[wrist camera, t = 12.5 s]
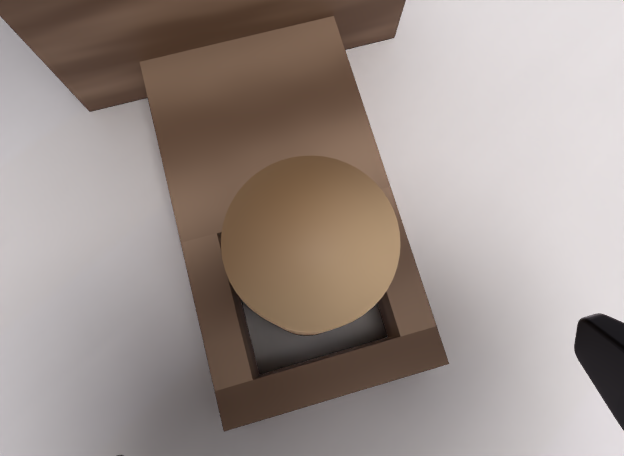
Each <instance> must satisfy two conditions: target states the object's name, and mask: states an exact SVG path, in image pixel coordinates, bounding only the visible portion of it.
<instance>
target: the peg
mask: <svg viewBox="0 0 624 456" xmlns="http://www.w3.org/2000/svg"><path fill="white" fill-rule="evenodd" d="M221 252H222V260H223V264H224V268H225V271H226V274H227V276H228V278H229V281H230V283H231V285H232V286H233V288H234V290H235V292H236V293H237V294H238V295H239V297H240V298H241V299H242V301H243V302H244V303H245V304H246V305H247V306H248V307H249V308H250V309H251V310H253V311H254V312H255V313H257V314H258V315H259V316H261V317H262V318H264V319H266V320H268V321H269V322H271V323H273V324H275V325H277V326H278V327H280V328H282V329H284V330H286V331H288V332H290V333H293V334H296V335H302V336H311V335H317V334H320V333H323V332H326V331H329V330H332V329H335V328H338V327H341V326H344V325H346V324H348V323H351V322H353V321H355V320H356V319H358V318H359V317H361V316H363V315H364V314H365V313H367V312H368V311H369V310H370V309H371V308H373V307H374V306H375V305H376V303H377V302H378V301H379V300H380V299H381V298H382V297H383V295H384V294H385V292H386V291H387V289H388V288H389V286H390V284H391V282H392V280H393V278H394V275H395V272H396V269H397V266H398V261H399V256H400V231H399V226H398V221H397V218H396V215H395V212H394V210H393V208H392V206H391V204H390V202H389V200H388V198H387V197H386V195H385V194H384V192H383V191H382V190H381V189H380V187H379V186H378V185H377V184H376V183H375V182H374V181H373V180H372V179H371V178H370V177H369V176H367V175H366V174H365V173H363V172H362V171H360V170H359V169H357V168H356V167H354V166H352V165H350V164H348V163H345V162H343V161H340V160H337V159H333V158H329V157H324V156H298V157H291V158H288V159H284V160H280V161H278V162H276V163H273V164H271V165H269V166H267V167H265V168H264V169H262V170H260V171H259V172H258V173H256V174H255V175H254V176H252V177H251V178H250V179H249V180H248V181H247V182H246V183H245V184H244V185H243V186H242V187H241V189H240V190H239V191H238V192H237V194H236V195H235V197H234V199H233V200H232V202H231V204H230V206H229V208H228V210H227V213H226V216H225V219H224V223H223V227H222V234H221Z"/></svg>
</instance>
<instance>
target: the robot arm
mask: <svg viewBox="0 0 624 456" xmlns="http://www.w3.org/2000/svg"><path fill="white" fill-rule="evenodd" d="M574 349H575V354H576V356H577V358H578V360H579V362H580V363H581V365H582V366H583V368H584V370H585V371H586V373H587V374H588V376H589V378H590V379H591V381H592V382H593V384H594V385H595V387H596V389H597V390H598V392H599V393H600V395H601V397H602V398H603V400H604V401H605V403H606V404H607V406H608V408H609V409H610V411H611V412H612V414H613V415H614V417H615V419H616V420H617V422H618V423H619V424H620V426H621V427H622V429H623V430H624V323H623V322H621V321H618V320H616V319H614V318H612V317H609V316H607V315H604V314H599V313H598V314H593V315H590V316H587V317H583V318H581V319H580V320H579V322H578V325H577V332H576V338H575V344H574ZM118 456H123V455H118Z"/></svg>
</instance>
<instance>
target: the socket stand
mask: <svg viewBox="0 0 624 456" xmlns="http://www.w3.org/2000/svg"><path fill="white" fill-rule="evenodd" d="M405 1H406V0H0V16H1V17H2V18H3V19H4V21H5V22H6V23H7V24H8V25H9V26H10V27H11V28H12V29H13V30H14V31H15V32H16V33H17V34H18V35H19V37H20V38H21V39H22V40H23V41H24V42H25V43H26V44H27V45H28V46H29V47H30V48H31V49H32V50H33V52H34V53H35V54H36V55H37V56H38V57H39V58H40V59H41V60H42V61H43V62H44V63H45V64H46V65H47V67H48V68H49V69H50V70H51V71H52V72H53V73H54V74H55V75H56V76H57V77H58V78H59V79H60V80H61V81H62V83H63V84H64V85H65V86H66V87H67V88H68V89H69V90H70V91H71V92H72V93H73V94H74V95H75V96H76V98H77V99H78V100H79V101H80V102H81V103H82V104H83V105H84V106H85V107H86V108H87V109H88V110H89V111H94V110H99V109H103V108H107V107H111V106H115V105H119V104H123V103H127V102H132V101H136V100H140V99H144V98H148V101H149V105H150V110H151V114H152V119H153V123H154V127H155V132H156V136H157V140H158V145H159V149H160V154H161V158H162V162H163V167H164V171H165V176H166V180H167V184H168V189H169V193H170V198H171V202H172V206H173V211H174V215H175V219H176V224H177V228H178V233H179V237H180V241H181V246H182V250H183V255H184V259H185V263H186V268H187V272H188V277H189V281H190V285H191V290H192V294H193V298H194V303H195V307H196V312H197V316H198V320H199V325H200V329H201V334H202V338H203V342H204V347H205V351H206V355H207V360H208V364H209V369H210V373H211V377H212V382H213V386H214V391H215V395H216V399H217V404H218V408H219V413H220V417H221V421H222V426H223V430H224V431H227V430H231V429H234V428H237V427H241V426H244V425H247V424H251V423H254V422H257V421H261V420H264V419H267V418H271V417H274V416H277V415H281V414H284V413H287V412H291V411H294V410H297V409H301V408H304V407H307V406H311V405H314V404H317V403H321V402H324V401H327V400H330V399H334V398H337V397H340V396H344V395H347V394H350V393H354V392H357V391H360V390H364V389H367V388H370V387H374V386H377V385H380V384H384V383H387V382H390V381H394V380H397V379H400V378H404V377H407V376H410V375H414V374H417V373H420V372H424V371H427V370H430V369H434V368H437V367H440V366H444V365H447V364H449V362H448V359H447V356H446V353H445V350H444V347H443V344H442V341H441V338H440V335H439V332H438V329H437V326H436V323H435V320H434V317H433V314H432V311H431V308H430V305H429V302H428V299H427V296H426V293H425V290H424V287H423V284H422V281H421V278H420V275H419V272H418V269H417V266H416V263H415V259H414V256H413V253H412V250H411V247H410V244H409V241H408V238H407V235H406V232H405V229H404V226H403V223H402V220H401V217H400V214H399V211H398V208H397V205H396V202H395V199H394V196H393V193H392V190H391V187H390V184H389V181H388V178H387V175H386V172H385V169H384V166H383V163H382V160H381V157H380V154H379V151H378V148H377V145H376V142H375V139H374V136H373V133H372V130H371V127H370V124H369V121H368V118H367V115H366V112H365V109H364V106H363V103H362V99H361V96H360V93H359V90H358V87H357V84H356V81H355V78H354V75H353V72H352V69H351V66H350V63H349V60H348V57H347V54H346V51H345V50H346V49H350V48H354V47H358V46H362V45H366V44H370V43H374V42H379V41H383V40H387V39H391V38H394V37H395V34H396V30H397V27H398V24H399V20H400V17H401V14H402V11H403V7H404V4H405ZM298 156H324V157H329V158H333V159H337V160H340V161H343V162H345V163H348V164H350V165H352V166H354V167H356V168H357V169H359V170H360V171H362V172H363V173H365V174H366V175H367V176H369V177H370V178H371V179H372V180H373V181H374V182H375V183H376V184H377V185H378V186H379V187H380V189H381V190H382V191H383V192H384V194H385V195H386V197H387V198H388V200H389V202H390V204H391V206H392V208H393V210H394V212H395V215H396V218H397V221H398V226H399V231H400V256H399V261H398V266H397V269H396V272H395V275H394V278H393V280H392V282H391V284H390V286H389V288H388V289H387V291H386V292H385V294H384V295H383V297H382V298H381V299H380V300H379V301H378V302H377V304H378V307H379V310H380V313H381V317H382V320H383V323H384V326H385V330H386V333H387V336H388V337H386V338H383V339H379V340H376V341H372V342H369V343H366V344H362V345H359V346H355V347H352V348H349V349H345V350H342V351H338V352H335V353H332V354H328V355H325V356H321V357H318V358H314V359H311V360H308V361H304V362H301V363H297V364H294V365H291V366H287V367H284V368H280V369H277V370H274V371H270V372H267V373H263V374H260V375H259V371H258V367H257V362H256V358H255V354H254V350H253V346H252V342H251V338H250V334H249V330H248V326H247V322H246V318H245V314H244V310H243V306H242V302H241V298H240V297H239V295H238V294H237V293H236V292H235V290H234V288H233V286H232V285H231V283H230V281H229V278H228V276H227V274H226V271H225V268H224V264H223V260H222V252H221V234H222V227H223V223H224V219H225V216H226V213H227V210H228V208H229V206H230V204H231V202H232V200H233V199H234V197H235V195H236V194H237V192H238V191H239V190H240V189H241V187H242V186H243V185H244V184H245V183H246V182H247V181H248V180H249V179H250V178H251V177H252V176H254V175H255V174H256V173H258V172H259V171H260V170H262V169H264V168H265V167H267V166H269V165H271V164H273V163H276V162H278V161H280V160H284V159H288V158H291V157H298Z"/></svg>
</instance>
